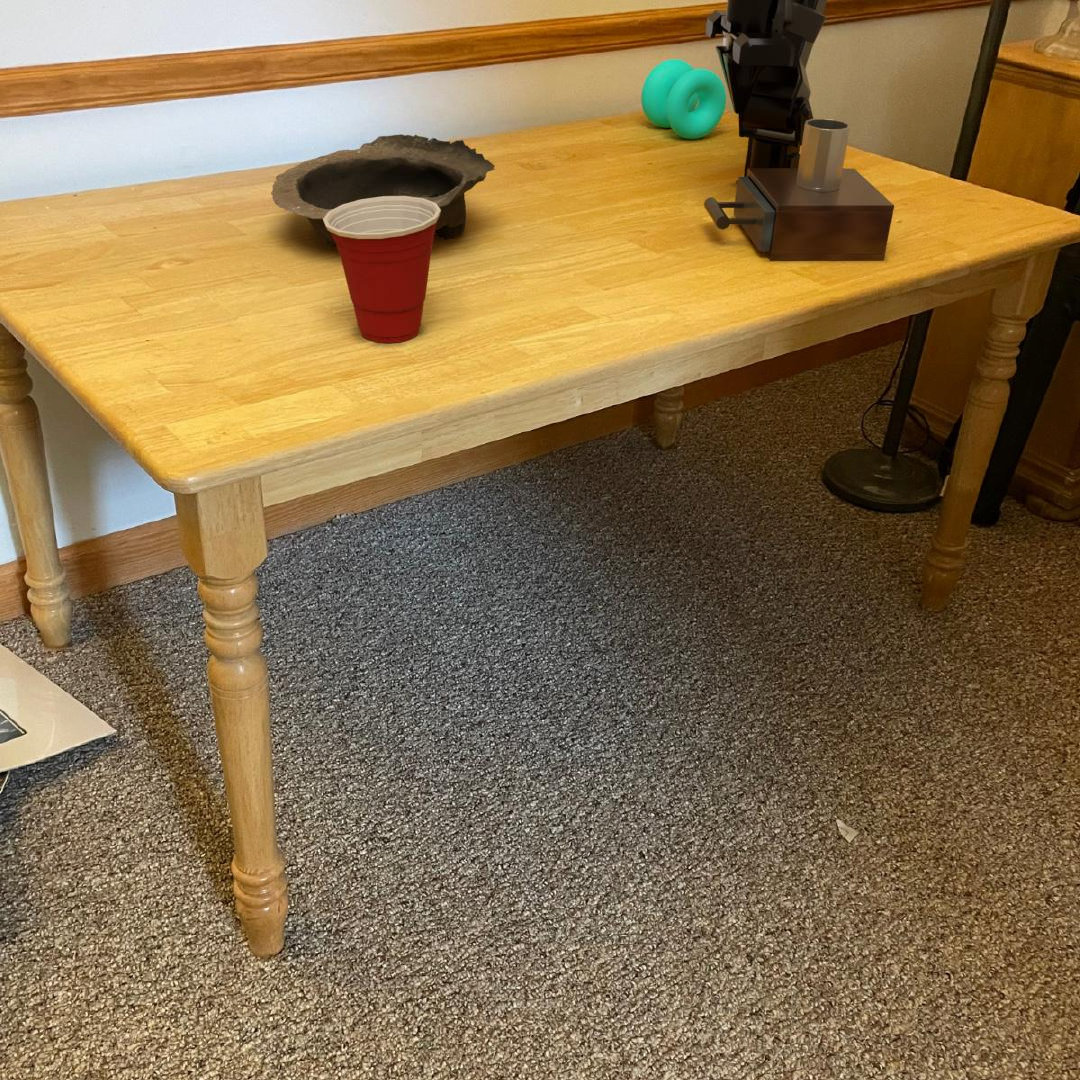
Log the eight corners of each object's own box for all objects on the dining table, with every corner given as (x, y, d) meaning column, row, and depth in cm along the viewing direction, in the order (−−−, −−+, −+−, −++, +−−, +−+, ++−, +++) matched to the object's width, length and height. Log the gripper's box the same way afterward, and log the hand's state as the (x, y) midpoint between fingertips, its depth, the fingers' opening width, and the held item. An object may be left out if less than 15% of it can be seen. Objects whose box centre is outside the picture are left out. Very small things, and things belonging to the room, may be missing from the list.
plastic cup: (334, 310, 119) (326, 191, 112) (442, 309, 120) (439, 191, 113) (327, 355, 110) (317, 229, 103) (443, 354, 111) (441, 229, 104)
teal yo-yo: (670, 144, 175) (676, 73, 169) (635, 128, 182) (640, 59, 177) (725, 137, 179) (733, 68, 173) (689, 122, 186) (695, 55, 181)
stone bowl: (523, 218, 143) (524, 142, 138) (422, 301, 125) (418, 218, 120) (350, 184, 152) (343, 111, 146) (231, 258, 134) (219, 178, 128)
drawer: (720, 252, 134) (724, 211, 131) (696, 214, 145) (700, 176, 142) (864, 251, 136) (872, 211, 133) (830, 214, 147) (837, 176, 144)
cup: (787, 184, 138) (796, 123, 134) (811, 176, 141) (821, 116, 137) (824, 194, 135) (834, 132, 131) (847, 186, 138) (858, 125, 134)
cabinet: (770, 260, 135) (778, 205, 131) (740, 219, 147) (747, 167, 143) (883, 260, 136) (894, 205, 132) (845, 219, 148) (854, 168, 144)
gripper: (850, -15, 127) (826, 134, 136) (802, -39, 143) (783, 95, 151) (749, -16, 126) (731, 133, 135) (711, -41, 142) (698, 94, 150)
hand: (739, 113), depth 143 cm, fingers closed
